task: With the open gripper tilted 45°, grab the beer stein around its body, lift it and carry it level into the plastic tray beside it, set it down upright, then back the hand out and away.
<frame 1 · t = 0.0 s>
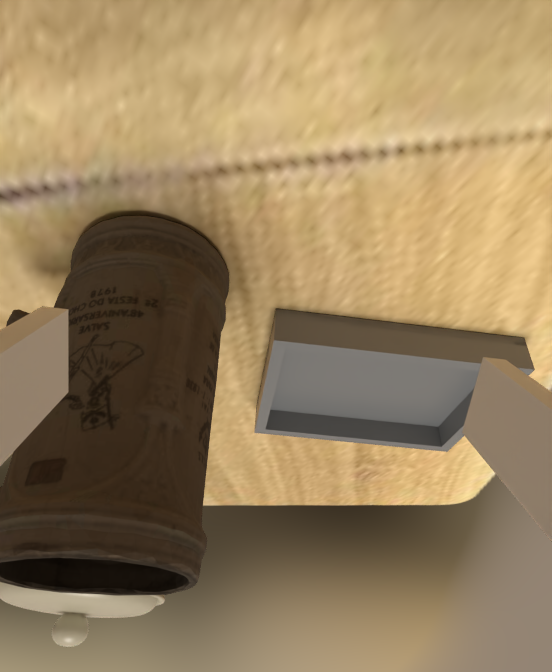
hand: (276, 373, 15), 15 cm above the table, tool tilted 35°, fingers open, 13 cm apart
canister: (117, 449, 61), on the table
tray: (372, 376, 43), on the table
beer stein: (135, 271, 34), on the table
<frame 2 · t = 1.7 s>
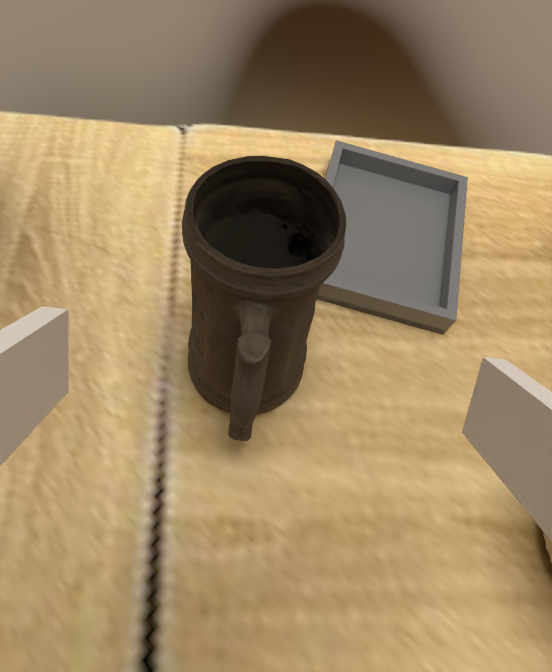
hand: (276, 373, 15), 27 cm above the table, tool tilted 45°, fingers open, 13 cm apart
tray: (381, 239, 53), on the table
beer stein: (247, 378, 44), on the table
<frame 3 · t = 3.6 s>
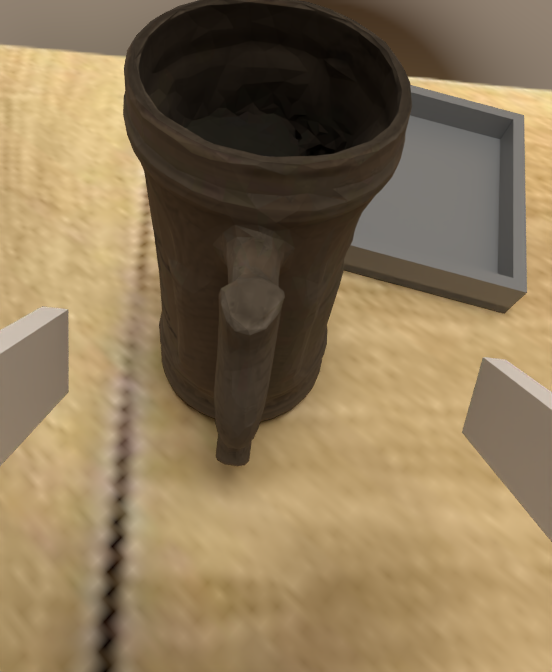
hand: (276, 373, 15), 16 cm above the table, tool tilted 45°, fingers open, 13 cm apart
tray: (416, 194, 41), on the table
beer stein: (243, 374, 32), on the table
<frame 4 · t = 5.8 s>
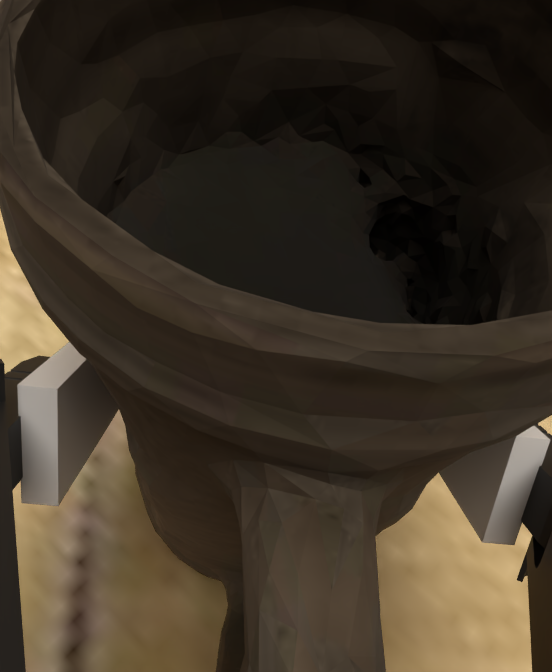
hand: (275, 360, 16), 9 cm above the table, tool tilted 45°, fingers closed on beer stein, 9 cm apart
beer stein: (257, 497, 23), on the table, touching gripper
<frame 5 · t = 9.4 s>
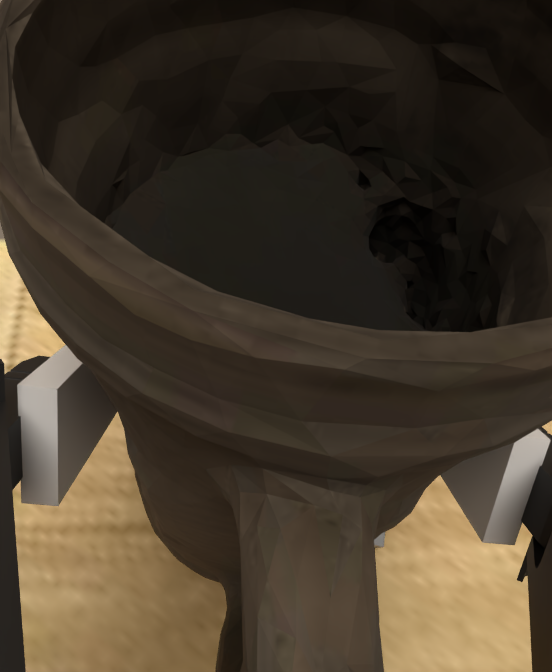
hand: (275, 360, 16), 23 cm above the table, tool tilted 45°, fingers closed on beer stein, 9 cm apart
beer stein: (257, 499, 23), point 14 cm above the table, touching gripper
when the fingers open (11 cm above the table, at t = 12.9 s): beer stein drops 2 cm, resting on tray.
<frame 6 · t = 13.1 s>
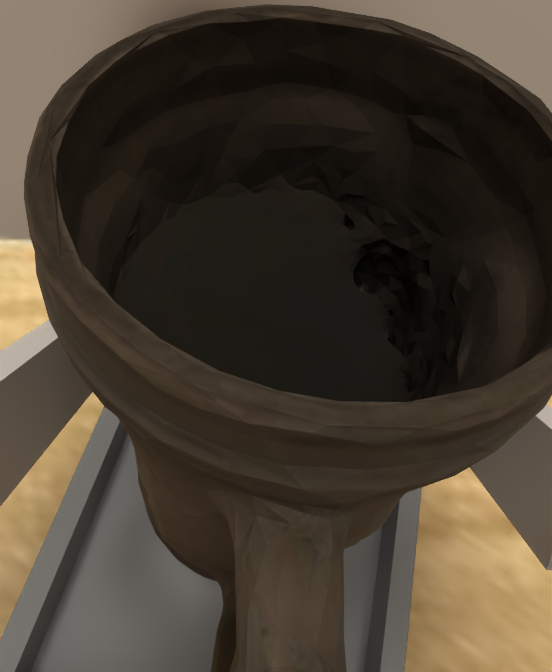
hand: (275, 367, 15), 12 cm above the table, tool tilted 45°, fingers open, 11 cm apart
tray: (246, 504, 25), on the table
beer stein: (251, 503, 24), point 1 cm above the table, touching tray
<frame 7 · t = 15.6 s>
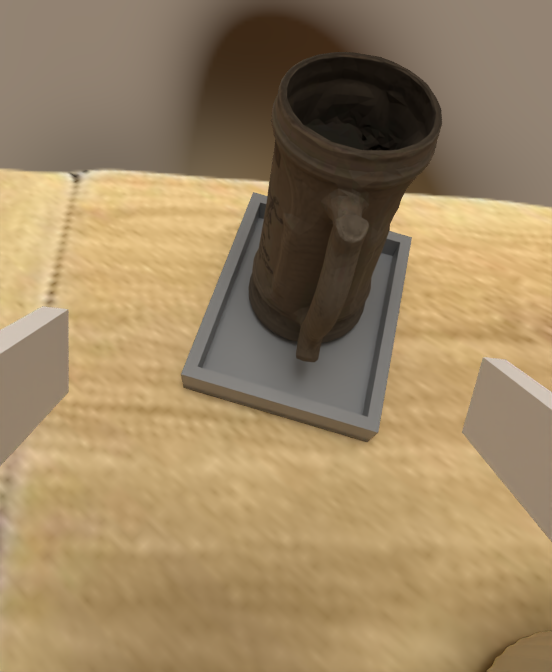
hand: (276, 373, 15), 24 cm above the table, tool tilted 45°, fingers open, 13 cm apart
tray: (303, 315, 44), on the table
beer stein: (306, 312, 43), point 1 cm above the table, touching tray
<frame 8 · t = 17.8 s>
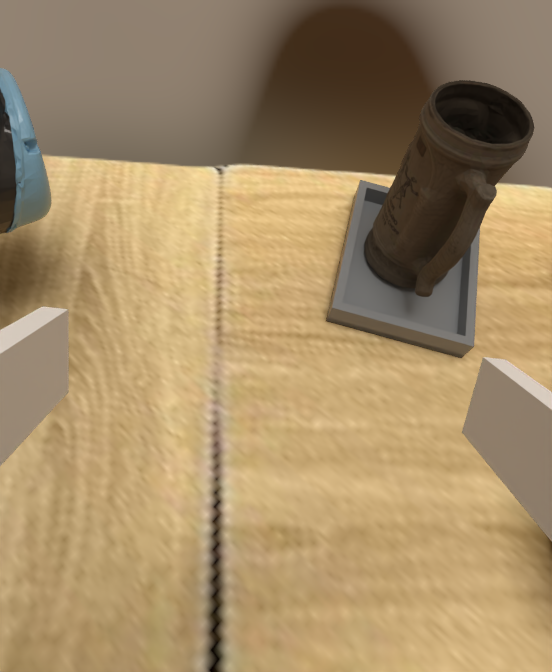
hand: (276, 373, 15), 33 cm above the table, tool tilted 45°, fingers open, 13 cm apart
tray: (403, 270, 59), on the table
beer stein: (407, 268, 58), point 1 cm above the table, touching tray
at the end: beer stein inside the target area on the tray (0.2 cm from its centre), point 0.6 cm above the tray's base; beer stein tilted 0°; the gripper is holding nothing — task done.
